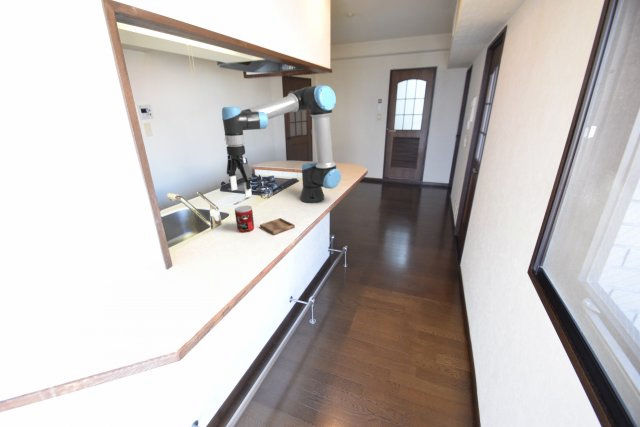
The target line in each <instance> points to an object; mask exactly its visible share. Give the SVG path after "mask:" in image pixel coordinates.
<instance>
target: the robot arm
mask: <svg viewBox="0 0 640 427" xmlns="http://www.w3.org/2000/svg"><path fill="white" fill-rule="evenodd" d="M336 103H337V97H336V94H335V91H334V90H333V88H332V87H330V86H329V85H313V86H305V87H302V88H300V89H298V90H295V91H293V92H290V93H288V94H287V96H284V97H281V98H277V99H274V100H270V101H268V102H266V103H262V104H259V105H255V106H252V107H248V108H246V109H243V110H241V107H239V106H224V107H222V108H221V117H222V118H221V119H222V124H223V131H224V137H225V138H224V141H225V145H226V154H227V164H226V175H228V177H229V181H230V190H231V191H236V190H238V184H237V176H236V175H237V174H236V172H237V169H238V170H239V172H240V174H241V176H242V178H243V186H244V195H245V196H244V197H246V198H247V197H250V196H252V186H251V185H252V184H251V182H252V181H254V178H253V175H252V172H251V168H250V166H249V163H248V162H249V161H248V158H247V157H245V158H244V157H243V155H245V154H246V148H245V138H244V131H251V130H252V131H253V130H255V131H256V130H265V129H267V127H268V125H269V120H270V119H273V118H276V117H279V116H281V115H286V114H288V113H290V112H293V113H297V112H300V111H301V112H302V111H309V116H310V117H311V118H312V119H313V126H314V127H313V128H314V137H315V147H316V155H317V162H308V163H303V164H302V167H301V175H302V176H301V177H302V189H301V190H302V191H301V192H300V193H301V194H300V196H299V197H300V201H301V202H303V203H309V204H316V203H321V202H323V201H324V200H325V194H324V191H323V188H324V189H329V190H331V189H332V190H333V189H335V188H336V187H338V186H339V183H340V182H341V179H342V173H341V171H340V170H339V169H338V168H337V164H336V162H335V161H334V157H333V156H334V154H333V143H332V132H331V130H332V129H331V118H330V117H331V115H332V114H333V109H334V108H335V105H336Z"/></svg>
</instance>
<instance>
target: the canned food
mask: <svg viewBox="0 0 640 427" xmlns="http://www.w3.org/2000/svg"><path fill="white" fill-rule="evenodd" d="M253 213H254V212H253V207H252V206H251V205H240V206H236V207H235V208H234V215H235V222H236V228H237V229H236V230H237V231H238V232H239V233H243V234H244V233H250V232H252V231H254V228H255V223H254V215H253Z"/></svg>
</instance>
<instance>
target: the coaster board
mask: <svg viewBox="0 0 640 427" xmlns="http://www.w3.org/2000/svg"><path fill="white" fill-rule="evenodd" d="M259 228H260V229H262V230H264V231H265V232H267V233H268V234H270V235H273V236H277V235H279V234H282V233H284V232H287V231H289V230H293V229H295V224H294V223H291V222H290V221H287V220H285V219H283V218H277V219H273V220H270V221H267V222H263V223H260V224H259Z"/></svg>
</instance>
